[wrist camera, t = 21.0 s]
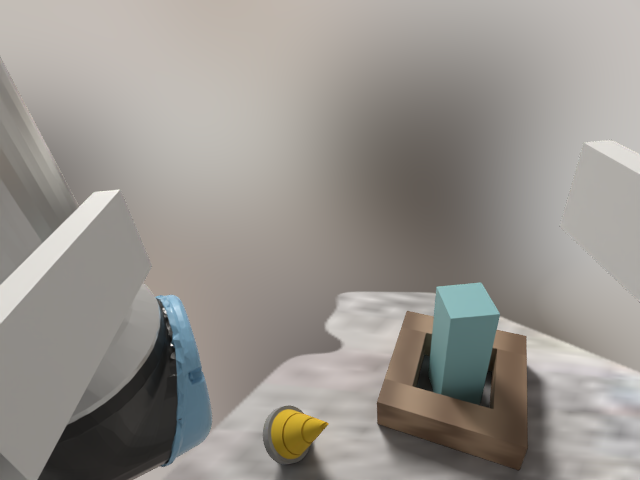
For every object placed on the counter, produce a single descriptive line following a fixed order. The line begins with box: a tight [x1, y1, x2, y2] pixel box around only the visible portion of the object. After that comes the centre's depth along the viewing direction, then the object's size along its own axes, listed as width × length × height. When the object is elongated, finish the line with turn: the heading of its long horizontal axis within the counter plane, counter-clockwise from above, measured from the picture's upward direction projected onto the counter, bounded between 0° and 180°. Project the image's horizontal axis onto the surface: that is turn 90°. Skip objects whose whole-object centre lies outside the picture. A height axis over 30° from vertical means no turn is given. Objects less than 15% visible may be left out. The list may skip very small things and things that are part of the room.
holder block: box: [377, 311, 528, 470], centre depth 44 cm, size 14×14×4 cm
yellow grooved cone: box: [263, 406, 328, 464], centre depth 39 cm, size 5×5×10 cm
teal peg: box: [428, 283, 500, 405], centre depth 41 cm, size 4×4×14 cm
